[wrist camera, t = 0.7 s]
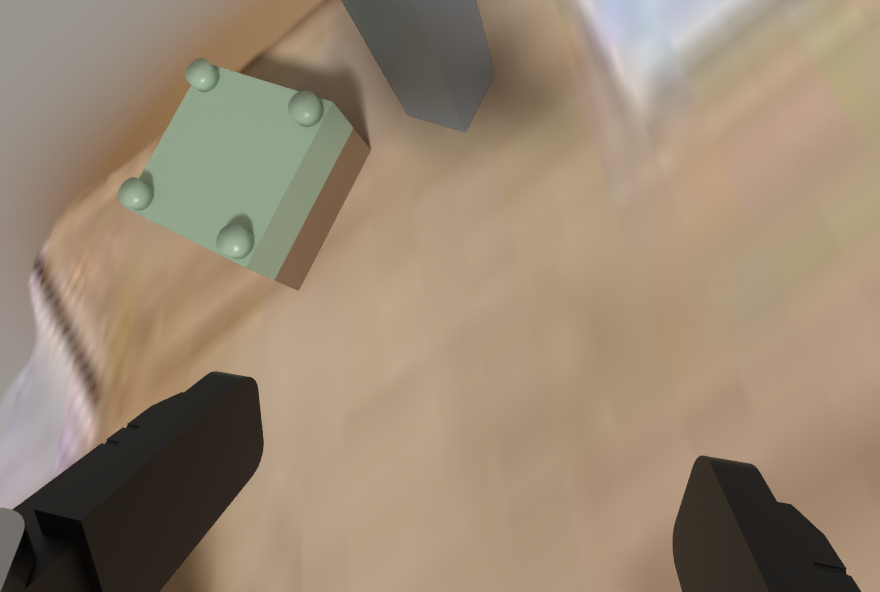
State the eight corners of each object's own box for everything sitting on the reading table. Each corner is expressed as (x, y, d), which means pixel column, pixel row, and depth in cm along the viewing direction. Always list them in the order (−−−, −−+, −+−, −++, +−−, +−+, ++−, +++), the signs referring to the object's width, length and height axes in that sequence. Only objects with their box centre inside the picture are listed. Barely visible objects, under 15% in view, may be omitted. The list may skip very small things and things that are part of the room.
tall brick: (435, 59, 37) (365, -116, 24) (494, 73, 35) (450, -108, 23) (407, 115, 36) (321, -35, 24) (465, 132, 34) (404, -20, 22)
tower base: (256, 110, 40) (193, 52, 34) (370, 149, 36) (325, 92, 30) (188, 236, 39) (110, 201, 33) (298, 290, 35) (234, 263, 29)
